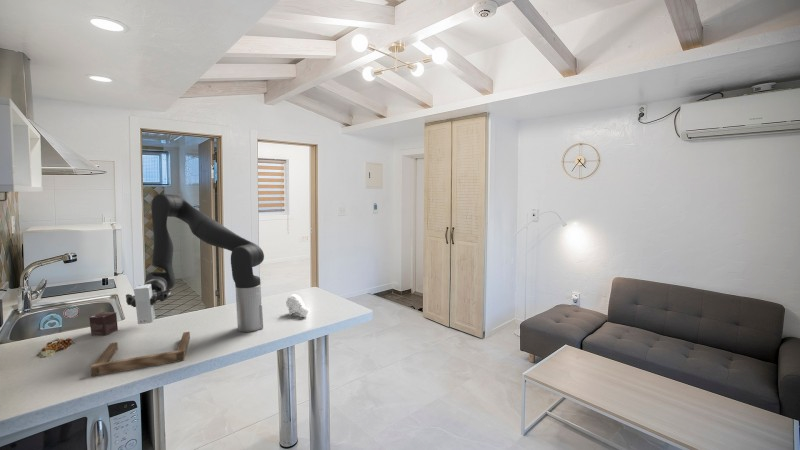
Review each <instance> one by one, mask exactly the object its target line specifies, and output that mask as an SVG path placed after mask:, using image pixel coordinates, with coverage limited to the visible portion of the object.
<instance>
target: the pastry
mask: <svg viewBox="0 0 800 450" xmlns="http://www.w3.org/2000/svg"><path fill="white" fill-rule="evenodd" d="M71 343H74V340H73V339H71V338H70V337H68V338H66V339H64V338H63V337H61V338H55V339H52V340H51V341H49V342H47V343H46V346H44V347H42V349H41V352H38V353H37V354H36V357H37V358H38V359H39V358H44V357H45V358H47V357H51V356H53V355H55V353H56V351H59V350H61V349H63V350H67V349H69V347H70V344H71Z"/></svg>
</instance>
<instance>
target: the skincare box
mask: <svg viewBox="0 0 800 450" xmlns="http://www.w3.org/2000/svg"><path fill="white" fill-rule="evenodd" d="M133 293H134V296H135V302H136V307H135V311H136V317H137V324H138V325H143V324H144V325H145V324H151V323H153V322H154V321H155V319H156V312H155V303H154V304H153V305H151V304H150V298H151V297H152V296H153V294H152V287H151V284H146V285H144V284H140V285H139V284H138V285H137V286H135V287H134V289H133Z"/></svg>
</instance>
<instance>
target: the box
mask: <svg viewBox="0 0 800 450" xmlns="http://www.w3.org/2000/svg"><path fill="white" fill-rule="evenodd" d="M89 326H90V333H91V334H90V335H91V336H107V335H110V334H112V333H114V332H116V331H118V330H119V327H118V316H117V312H115V311H114V312H113V311H111V312H109V311H107V312H106V311H101V312H99V313H96V314H94V315H92V316H90V317H89Z"/></svg>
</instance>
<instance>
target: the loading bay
mask: <svg viewBox="0 0 800 450" xmlns="http://www.w3.org/2000/svg"><path fill="white" fill-rule="evenodd" d="M190 338H191V333H190V331H185V332H182V336H181V339H180V340H179V341H180V342H179V344H178V347H177V350H172V351H167V352H160V353H154V354H149V355H143V356H142V355H141V356H136V357H129V358H123V359H118V360H111V359H113V357H114V356H115V354H116V352H118V350H119V344H118V342H117V341H116V342H110V343H109V344H108V345H107V347H106V348H105V349H104V350H103V352H102V353H101V354H100V355H99V357H98V358H97V359H96V361H94V363H93V364H91V365H90V373H91V374H90V375H91V377H95V376H99V375H100V376H101V375H106V374H111V373H112V374H113V373H117V372H118V373H119V372H124V371H130V370H134V369H141V368H142V369H143V368H145V367H147V368H148V367H152V366H158V365H159V366H160V365H164V364H170V363H176V362H182V361H185V358H186V353H187V350H188V346H189V344H190V343H189V342H190V341H191V340H190Z"/></svg>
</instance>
